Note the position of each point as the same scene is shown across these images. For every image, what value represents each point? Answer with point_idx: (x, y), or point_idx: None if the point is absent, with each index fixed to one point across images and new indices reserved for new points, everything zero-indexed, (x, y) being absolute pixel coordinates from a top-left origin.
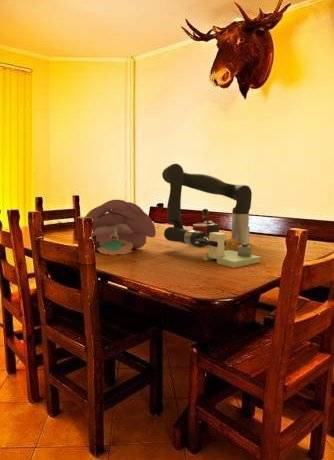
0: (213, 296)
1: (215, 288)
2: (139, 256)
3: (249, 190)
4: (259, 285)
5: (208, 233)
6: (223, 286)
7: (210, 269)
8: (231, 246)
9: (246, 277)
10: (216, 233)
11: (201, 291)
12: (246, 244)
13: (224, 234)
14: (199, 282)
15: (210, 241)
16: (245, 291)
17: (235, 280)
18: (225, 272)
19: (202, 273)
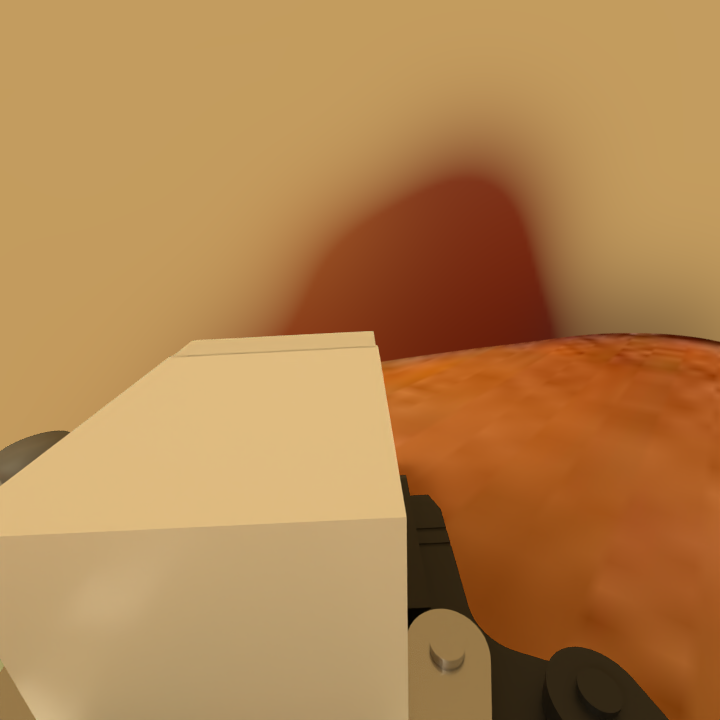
0: (666, 343)
1: (644, 365)
2: None
3: None
4: (472, 350)
5: None
6: (604, 367)
7: (588, 527)
8: None
9: (454, 388)
10: (306, 387)
11: (709, 363)
12: (63, 431)
13: (247, 344)
14: (716, 406)
15: (438, 625)
16: (546, 341)
17: (524, 383)
18: (506, 449)
19: (683, 484)
